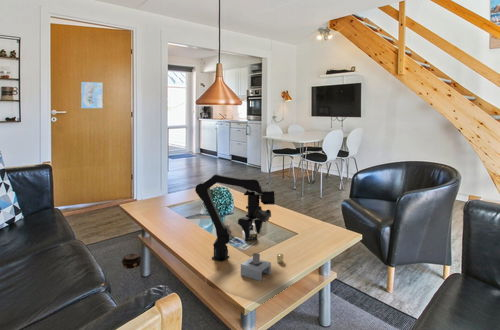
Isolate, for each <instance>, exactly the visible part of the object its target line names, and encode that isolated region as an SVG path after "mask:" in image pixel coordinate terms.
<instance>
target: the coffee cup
mask: <svg viewBox="0 0 500 330" xmlns="http://www.w3.org/2000/svg"><path fill="white" fill-rule="evenodd" d="M141 262H142V256H141V255H140V253H129V254H126V255H124V256H123V258H122V260H121V263H122V267H123V269H126V270H127V269H129V270H130V269H135V268H138V267H140V266H141Z"/></svg>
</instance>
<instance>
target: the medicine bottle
mask: <svg viewBox="0 0 500 330" xmlns="http://www.w3.org/2000/svg"><path fill="white" fill-rule="evenodd" d="M252 225H253V226H252V227H251V228H250V237H249V238H247V237H246V235H245V233H244V231H243V230H242V231H241V237H242V239H243V240H244V242H248V241H249V242H250V241H255V240H258V234H257V231H256V227H255V223H254V222H253V223H252Z"/></svg>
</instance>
